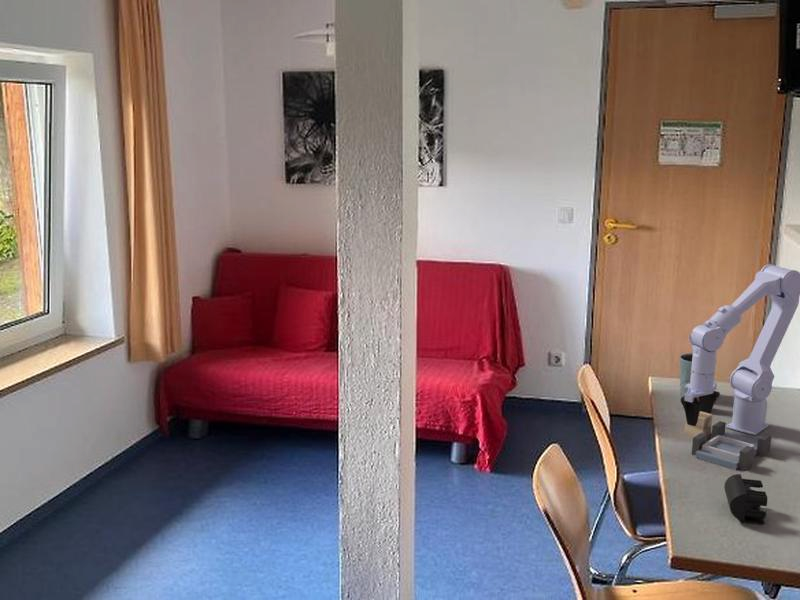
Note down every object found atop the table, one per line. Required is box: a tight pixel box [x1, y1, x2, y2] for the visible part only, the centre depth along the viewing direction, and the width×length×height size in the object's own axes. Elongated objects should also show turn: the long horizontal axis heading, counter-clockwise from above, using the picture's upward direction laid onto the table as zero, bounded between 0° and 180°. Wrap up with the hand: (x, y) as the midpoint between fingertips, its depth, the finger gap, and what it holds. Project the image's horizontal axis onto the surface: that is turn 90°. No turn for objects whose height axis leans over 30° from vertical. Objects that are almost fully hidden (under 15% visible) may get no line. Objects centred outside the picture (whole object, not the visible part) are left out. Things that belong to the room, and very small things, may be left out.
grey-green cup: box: [679, 352, 717, 398], centre depth 246 cm, size 10×10×12 cm
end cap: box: [724, 473, 768, 526], centre depth 176 cm, size 10×7×7 cm
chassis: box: [691, 420, 772, 471], centre depth 207 cm, size 18×13×4 cm
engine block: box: [683, 411, 714, 438], centre depth 219 cm, size 5×5×6 cm
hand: (698, 421), depth 219 cm, fingers open, 7 cm apart
